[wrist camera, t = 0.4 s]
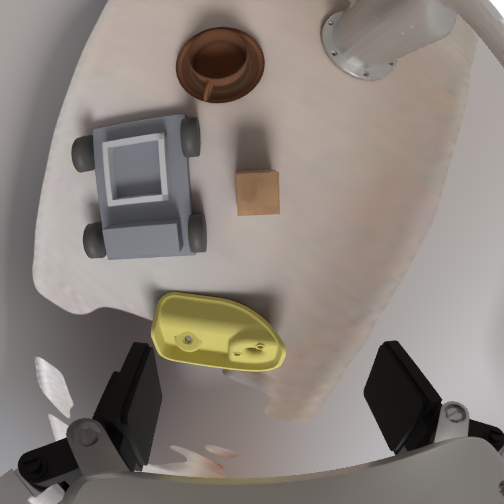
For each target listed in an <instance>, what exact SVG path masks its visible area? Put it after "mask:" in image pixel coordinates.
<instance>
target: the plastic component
mask: <svg viewBox="0 0 504 504" xmlns="http://www.w3.org/2000/svg"><path fill="white" fill-rule="evenodd" d="M186 336H190V337H191V341H189V342H188V341H187V340H186V339H185V337H186ZM151 337H152V340H153V342H154V344H155V347H156V349H157V351H158V353H159V354H160V355H161V356H162V357H164V358H166V359H169V360H172V361H177V362H183V363H189V364H195V365H202V366H209V367H217V368H224V369H232V370H242V371H268V370H272V369H275V368H277V367H279V366H280V365H281V364H282V362H283V360H284V358H285V355H286V349H285V346H284V344H283V342H282V340H281V338H280V337H279V335H278V334H277V332H276V331H275V330H274V328H273V327H272V326H271V325H270V324H269V323H268V322H267V321H266V320H265V319H264V318H262V317H261V316H260V315H259V314H257V313H256V312H255V311H253V310H251V309H250V308H248V307H246V306H244V305H242V304H240V303H237V302H234V301H231V300H228V299H224V298H218V297H210V296H202V295H195V294H188V293H180V292H170V293H167V294H165V295H164V296H162V297H161V299H160V300H159V302H158V304H157V308H156V312H155V316H154V320H153V324H152V328H151Z"/></svg>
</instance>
